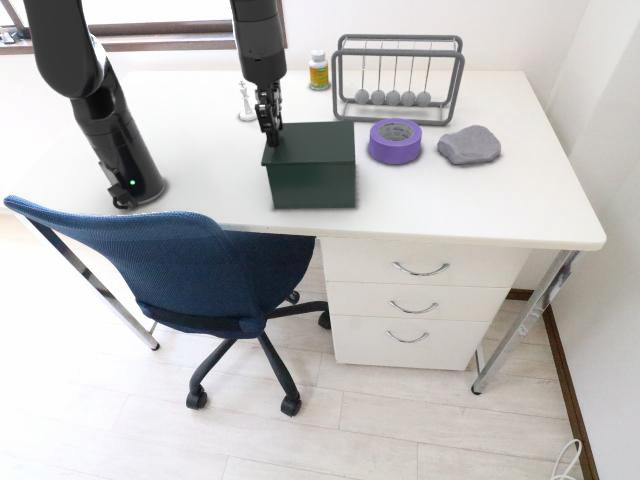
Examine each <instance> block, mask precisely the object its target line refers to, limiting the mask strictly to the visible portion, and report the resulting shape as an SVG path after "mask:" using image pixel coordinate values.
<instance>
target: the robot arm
mask: <svg viewBox="0 0 640 480" xmlns="http://www.w3.org/2000/svg"><path fill="white" fill-rule="evenodd" d="M227 1H228V5H229V10H230V15H231V20H232V30H233V37H234V41H235V46H236V51H237V57H238V60H239V65H240V70H241V74H242V77H243V79H244V80H245V81H247V82H248V83H252V84H254V85H255V86H256V89H254V97H255V100H256V103H255V104H254V108H253V109H254V110H255V111H256V115H257V118H256V119H257V122H258V125H259V129H260V132H261V134H265V137H266V139H267V143H268V146H269V147H279V146H280V140H279V134H278V125H277V116H278V117H279V118H280V125H279V131H281V130H282V129H283V123H284V122H283V117H282V116H283V115H282V110H283V106H282V104H283V96H282V87H281V79H283V78H284V77H285V76H286V74H287V72H288V66H287V58H286V51H285V43H284V42H285V41H284V35H283V27H282V23H281V18H280V14H279V9H278V2H277V0H227ZM22 4H23V6H24V7H23V8H24V10H25V11H24V12H25V14H26V20H27V24H28V29H29V34H30V39H31V45H32V50H33V55H34V56H33V57H34V61H35V65H36V68H37V71H38V73H39V75H40V76H41V78H42V80H43V81H44V82H45V83H46V85H47V86H48V87H50V88H51V89H52V90H53V91H54V92H56V93H57V94H58V95H61V96H62V97H64V98H67V99H69V103H70V105H71V108H72V112H73V117H74V120H75V122H76V124H77V126H78V127H79V129H80V131H81V132H82V134H83V135H84V137H85V138H86V140H87V142H88V143H89V145H90V147H91V149H92V150H93V151H94V153H95V155H96V157H97V158H98V160H99V161H98V162H97V164H98V166H99V168H100V169H101V170H102V172H103V174H104V176H105V178H107V180H108V182H109V184H110V185H111V186H110V187H108V188H106V190H107V192H108V194H109V195H110V197H111V198H112V205H113V207H114V208H115V209H118V210H124V211H128V210H129V206H131V207H132V208H136V207H138V206H141V205H145V204H149V203H152V202H153V201H155V200H156V199H158V198H159V197H160V196H161V195H163V193H164V191H165V190H166V182H165V181H164V179H163V177H162V175H161V173H160V171H159V169H158V167H157V165H156V163H155V161H154V159H153V157H152V155H151V152H150V150H149V148H148V146H147V144H146V141H145V140H144V138H143V136H142V133H141V132H140V130H139V128H138V125H137V123H136V121H135V119H134V117H133V115H132V112H131V110H130V108H129V106H128V103H127V98H126V96H125V92H124V90H123V87H122V85H121V83H120V81H119V79H118V76H117V74H116V72H115V70H114V67H113V65H112V62H111V61H110V58H109V56H108V54H107V52H106V50H105V49H104V47H103V46H102V44H101V43H100V41H99V40H98V39H97V38H96V36H94V35H93V34H92V33H91V32H90V30H89V27H88V22H87V18H86V15H85V11H84V10H85V9H84V3H83V0H22ZM126 204H128V205H129V206H128V205H126Z"/></svg>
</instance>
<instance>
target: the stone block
mask: <svg viewBox="0 0 640 480" xmlns="http://www.w3.org/2000/svg"><path fill="white" fill-rule="evenodd" d="M501 144H502V143H501V142H500V140H499V139H498V138H497V137H496V135H495V134H494V133H493V132H491V130H490V129H488V128H487V127H485V126H484V125H480V124H473V125H468V126H467V127H464V128H462V129H461V130H459V131H456V132H453V133H443V134H442V135H441V136H440V137H439V139H438V141H437V145H436V146H437V150H438V152H440V153H441V155H442V156H443V157H446V158H447V159H448V160H449V161H450V163H452V164H453V165H464V164H479V163H484V162H491V161H493V160H494V159H495V158H496V157H498V156H499V155H500V154H501V151H502V145H501Z"/></svg>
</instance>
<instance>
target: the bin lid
mask: <svg viewBox="0 0 640 480" xmlns="http://www.w3.org/2000/svg"><path fill="white" fill-rule="evenodd" d="M282 123H283V129H282V130H281V131H279V125H280V118H279V117H278V116H277V125H278V134H279V140H280V146H279V147H269V146H268V143H267V138H266V140H265V145H264V148H263V152H262V157H261V161H260V166H261V167H266V166H302V165H341V164H355V165H357V164H356V160H357V159H356V138H355V137H356V135H355V121H346V120H331V121H329V120H328V121H303V122H302V121H300V122H282Z"/></svg>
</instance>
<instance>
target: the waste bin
mask: <svg viewBox="0 0 640 480" xmlns="http://www.w3.org/2000/svg"><path fill="white" fill-rule="evenodd" d="M265 169H266V175H267V179H268V183H269V189H270V193H271V199H272V204H273V208H274V210H286V209H290V210H292V209H293V210H295V209H343V208H348V209H349V208H351V209H352V208H356V164H341V165H302V166H265Z"/></svg>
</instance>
